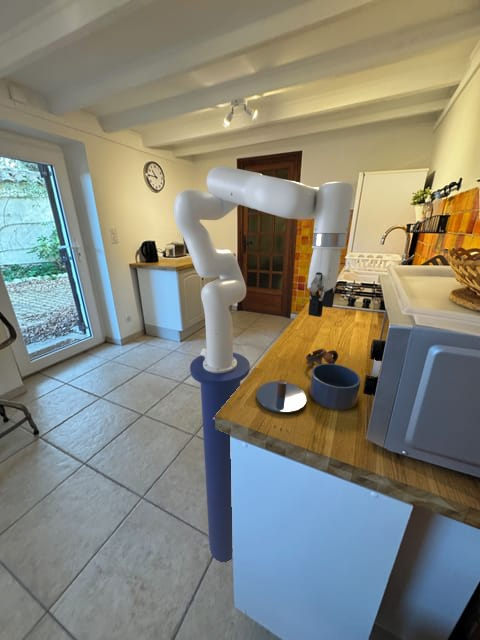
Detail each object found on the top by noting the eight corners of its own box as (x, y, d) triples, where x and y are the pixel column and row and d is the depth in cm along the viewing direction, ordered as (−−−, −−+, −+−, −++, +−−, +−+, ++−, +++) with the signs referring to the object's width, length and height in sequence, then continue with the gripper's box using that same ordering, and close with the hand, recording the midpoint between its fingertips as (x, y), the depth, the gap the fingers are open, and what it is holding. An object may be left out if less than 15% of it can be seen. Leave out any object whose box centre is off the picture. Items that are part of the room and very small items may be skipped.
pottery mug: (325, 381, 83) (314, 358, 83) (307, 379, 92) (298, 358, 91) (349, 364, 88) (339, 342, 87) (330, 363, 96) (321, 344, 96)
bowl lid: (247, 402, 72) (247, 385, 70) (270, 379, 83) (271, 364, 81) (294, 422, 64) (296, 404, 63) (313, 394, 76) (315, 377, 74)
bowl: (302, 399, 74) (305, 378, 71) (317, 378, 84) (319, 359, 82) (351, 416, 67) (355, 394, 64) (360, 391, 77) (364, 371, 75)
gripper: (323, 240, 69) (317, 301, 74) (300, 242, 55) (294, 317, 61) (353, 241, 65) (343, 305, 70) (335, 243, 51) (325, 323, 57)
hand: (320, 310), depth 66 cm, fingers open, 9 cm apart
